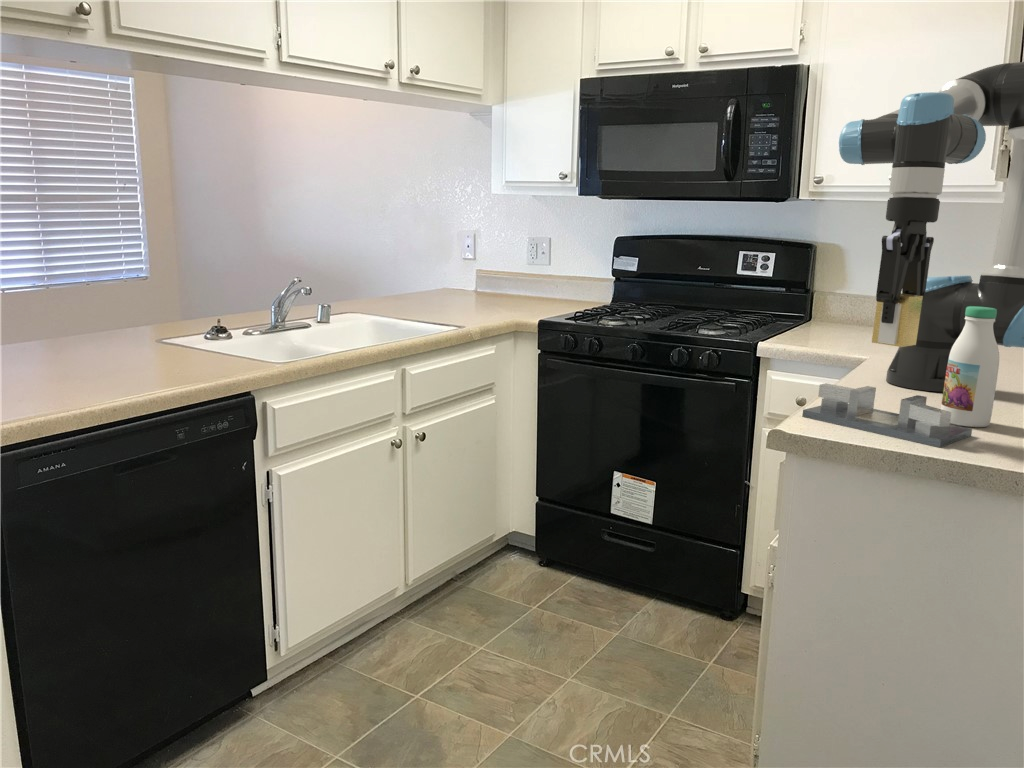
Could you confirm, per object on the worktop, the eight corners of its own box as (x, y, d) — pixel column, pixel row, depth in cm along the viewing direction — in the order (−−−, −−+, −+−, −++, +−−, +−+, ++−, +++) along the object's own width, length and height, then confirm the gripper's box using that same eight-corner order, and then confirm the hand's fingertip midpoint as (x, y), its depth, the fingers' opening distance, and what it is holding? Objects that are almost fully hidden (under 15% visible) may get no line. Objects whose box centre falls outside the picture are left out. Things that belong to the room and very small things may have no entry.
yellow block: (915, 344, 135) (923, 294, 133) (902, 347, 132) (909, 295, 130) (885, 340, 139) (892, 291, 137) (871, 342, 135) (878, 292, 134)
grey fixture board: (836, 407, 150) (840, 377, 149) (971, 436, 133) (976, 402, 132) (801, 416, 143) (805, 384, 141) (939, 447, 126) (945, 411, 124)
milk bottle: (972, 417, 146) (990, 305, 142) (999, 429, 139) (1018, 310, 135) (930, 416, 146) (946, 304, 142) (954, 427, 138) (972, 309, 134)
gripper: (915, 198, 139) (897, 335, 144) (863, 193, 127) (845, 342, 132) (962, 199, 133) (941, 341, 138) (912, 194, 122) (892, 349, 126)
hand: (895, 341), depth 135 cm, fingers closed on yellow block, 5 cm apart
